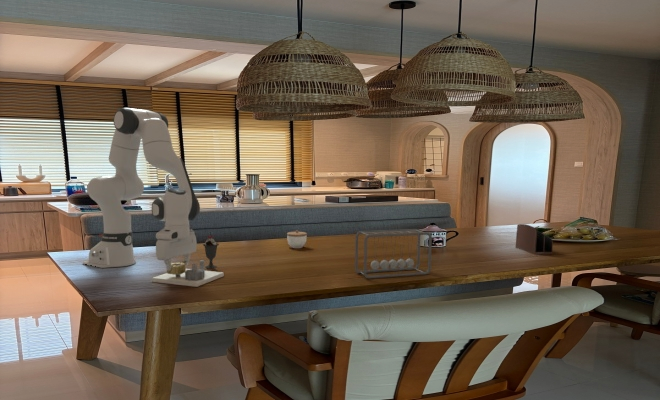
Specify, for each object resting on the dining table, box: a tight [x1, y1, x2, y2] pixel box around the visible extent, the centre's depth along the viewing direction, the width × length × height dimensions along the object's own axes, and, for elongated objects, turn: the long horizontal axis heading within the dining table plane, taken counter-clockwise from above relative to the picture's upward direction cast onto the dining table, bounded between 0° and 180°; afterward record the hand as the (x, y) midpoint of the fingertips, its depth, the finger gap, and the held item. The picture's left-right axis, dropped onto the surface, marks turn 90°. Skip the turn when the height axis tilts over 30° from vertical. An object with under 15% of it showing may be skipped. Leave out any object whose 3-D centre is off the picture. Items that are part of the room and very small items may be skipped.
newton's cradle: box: [354, 228, 433, 280], centre depth 201 cm, size 30×10×18 cm, turn 109°
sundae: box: [202, 232, 220, 269], centre depth 210 cm, size 7×7×15 cm
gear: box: [166, 262, 187, 275], centre depth 185 cm, size 7×7×3 cm
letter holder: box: [515, 223, 554, 255], centre depth 258 cm, size 10×20×14 cm, turn 7°
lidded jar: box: [286, 229, 308, 249], centre depth 261 cm, size 11×11×9 cm
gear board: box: [151, 259, 225, 288], centre depth 189 cm, size 20×18×7 cm
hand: (177, 267), depth 186 cm, fingers open, 8 cm apart
